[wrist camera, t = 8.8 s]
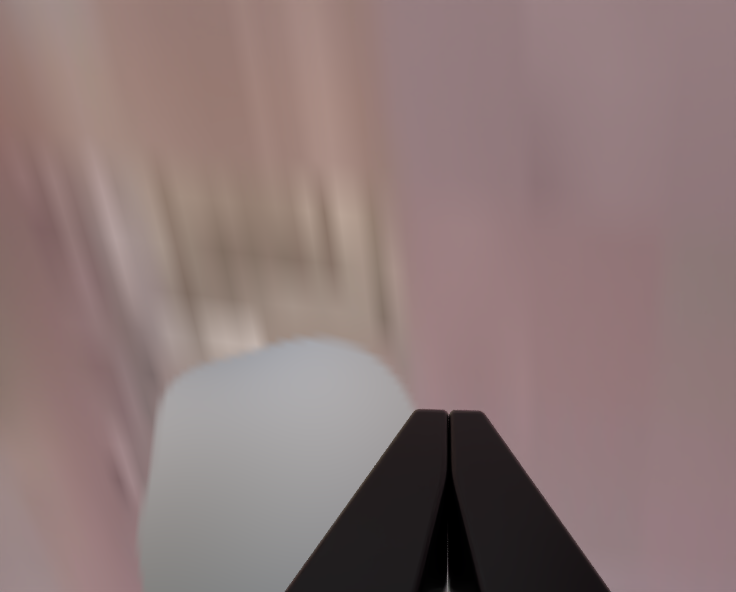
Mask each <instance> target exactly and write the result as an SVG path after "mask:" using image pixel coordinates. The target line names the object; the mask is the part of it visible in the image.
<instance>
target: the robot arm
mask: <svg viewBox="0 0 736 592" xmlns="http://www.w3.org/2000/svg"><path fill="white" fill-rule="evenodd" d="M447 558H448V592H611V591H610V590H609V588H608V587H607V585H606V584H605V583H604V581H603V580H602V578H601V577H600V576H599V574H598V573H597V571H596V570H595V569H594V567H593V566H592V564H591V563H590V562H589V560H588V559H587V557H586V556H585V555H584V553H583V552H582V550H581V549H580V547H579V546H578V545H577V543H576V542H575V540H574V539H573V538H572V536H571V535H570V533H569V532H568V531H567V529H566V528H565V526H564V525H563V524H562V522H561V521H560V519H559V518H558V516H557V515H556V514H555V512H554V511H553V509H552V508H551V507H550V505H549V504H548V502H547V501H546V500H545V498H544V497H543V495H542V494H541V493H540V491H539V490H538V488H537V487H536V486H535V484H534V483H533V481H532V480H531V478H530V477H529V476H528V474H527V473H526V471H525V470H524V469H523V467H522V466H521V464H520V463H519V462H518V460H517V459H516V457H515V456H514V455H513V453H512V452H511V450H510V449H509V448H508V446H507V445H506V443H505V442H504V440H503V439H502V438H501V436H500V435H499V433H498V432H497V431H496V429H495V428H494V426H493V425H492V424H491V422H490V421H489V419H488V418H487V417H486V415H485V414H484V413H483V412H481V411H474V410H453V411H451V412H450V414H449V416H448V413H447V411H445V410H436V409H417V410H415V411H414V412H413V413H412V415H411V416H410V417H409V419H408V420H407V422H406V423H405V424H404V426H403V427H402V429H401V430H400V432H399V433H398V434H397V436H396V437H395V438H394V440H393V441H392V443H391V444H390V445H389V447H388V448H387V450H386V451H385V452H384V454H383V455H382V457H381V458H380V459H379V461H378V462H377V463H376V465H375V466H374V468H373V469H372V471H371V472H370V473H369V475H368V476H367V477H366V479H365V481H364V482H363V483H362V484H361V486H360V487H359V489H358V490H357V491H356V493H355V494H354V496H353V497H352V498H351V500H350V501H349V503H348V504H347V506H346V507H345V508H344V510H343V511H342V512H341V514H340V515H339V517H338V518H337V520H336V521H335V522H334V524H333V525H332V526H331V528H330V529H329V531H328V532H327V533H326V535H325V536H324V538H323V539H322V540H321V542H320V543H319V545H318V546H317V547H316V549H315V550H314V552H313V553H312V554H311V556H310V557H309V558H308V560H307V561H306V563H305V564H304V565H303V567H302V568H301V570H300V571H299V572H298V574H297V575H296V577H295V578H294V579H293V581H292V582H291V584H290V585H289V586H288V588H287V589H286V591H285V592H447Z"/></svg>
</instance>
